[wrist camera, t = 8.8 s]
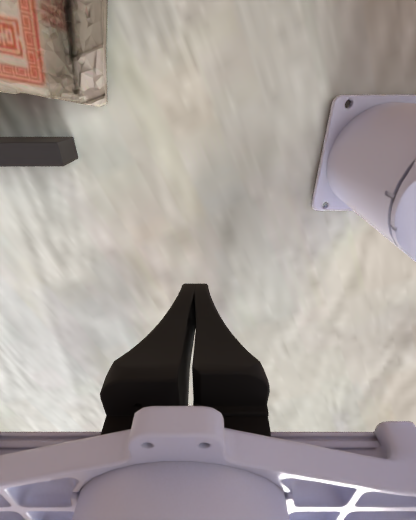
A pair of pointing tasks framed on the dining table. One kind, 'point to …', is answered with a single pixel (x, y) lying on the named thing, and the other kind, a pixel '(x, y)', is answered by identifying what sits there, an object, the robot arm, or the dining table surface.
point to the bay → (37, 151)
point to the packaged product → (54, 49)
